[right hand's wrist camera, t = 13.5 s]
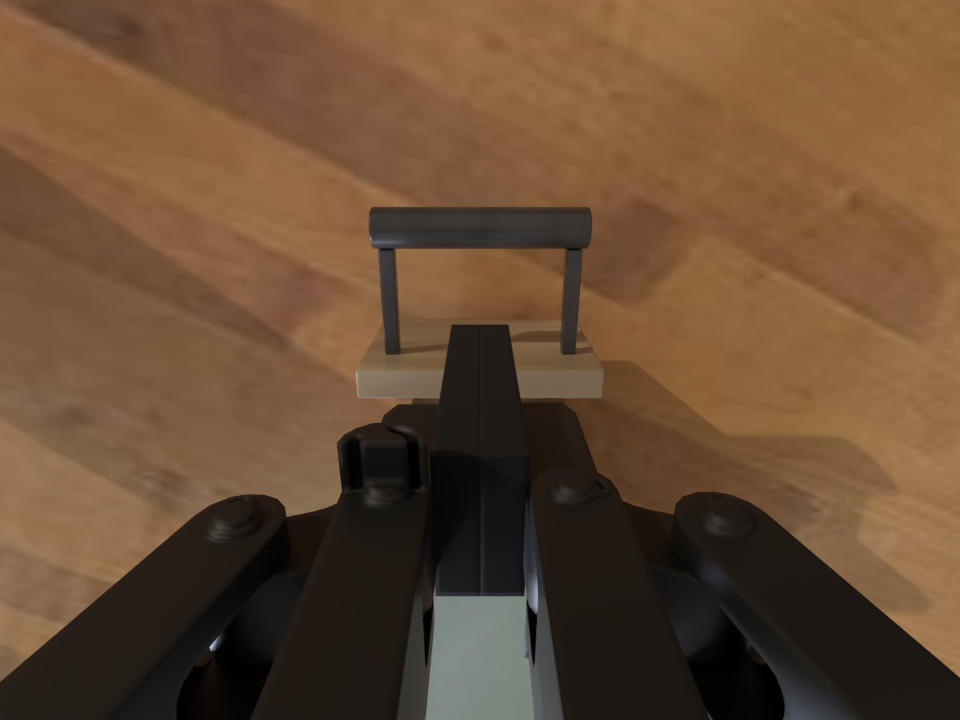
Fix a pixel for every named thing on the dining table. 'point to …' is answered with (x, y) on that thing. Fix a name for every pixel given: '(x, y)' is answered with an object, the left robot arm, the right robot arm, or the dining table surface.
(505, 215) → the drawer
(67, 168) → the dining table surface
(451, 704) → the cabinet
